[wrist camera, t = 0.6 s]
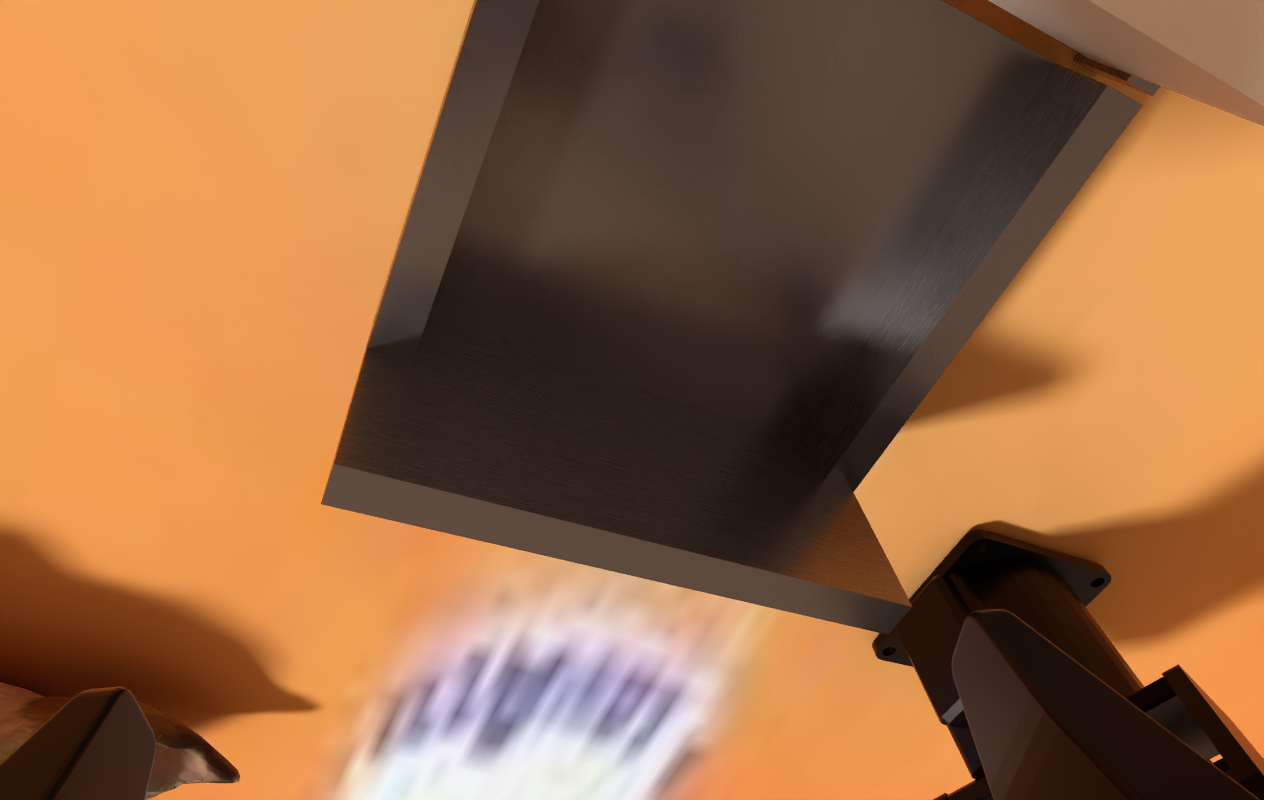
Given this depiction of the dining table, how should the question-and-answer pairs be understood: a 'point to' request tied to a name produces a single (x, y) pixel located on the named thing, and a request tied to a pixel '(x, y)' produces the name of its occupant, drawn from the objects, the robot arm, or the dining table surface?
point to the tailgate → (1166, 43)
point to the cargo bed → (704, 279)
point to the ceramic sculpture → (180, 755)
